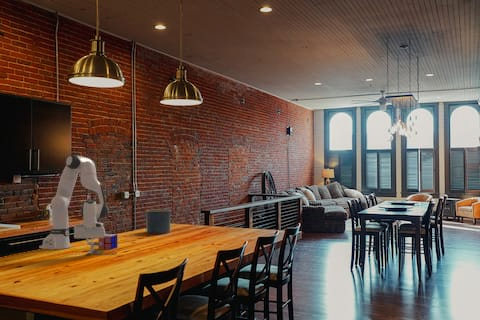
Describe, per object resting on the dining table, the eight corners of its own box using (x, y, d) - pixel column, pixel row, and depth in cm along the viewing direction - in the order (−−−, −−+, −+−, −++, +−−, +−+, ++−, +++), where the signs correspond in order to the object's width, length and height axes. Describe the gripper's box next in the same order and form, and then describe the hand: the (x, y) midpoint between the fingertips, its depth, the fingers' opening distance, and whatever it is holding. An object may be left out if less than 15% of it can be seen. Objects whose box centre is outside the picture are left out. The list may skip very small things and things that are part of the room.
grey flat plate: (85, 256, 296) (85, 256, 296) (87, 253, 308) (87, 252, 308) (116, 255, 300) (116, 254, 300) (117, 252, 312) (117, 251, 312)
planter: (147, 231, 415) (147, 209, 415) (171, 230, 417) (171, 209, 417) (144, 234, 393) (144, 211, 393) (170, 234, 395) (170, 211, 395)
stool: (101, 254, 301) (90, 253, 299) (102, 252, 308) (91, 252, 306) (102, 244, 301) (91, 243, 300) (103, 242, 308) (92, 241, 306)
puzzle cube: (111, 250, 319) (111, 236, 319) (98, 250, 321) (98, 236, 321) (117, 248, 329) (117, 234, 329) (105, 247, 331) (105, 234, 331)
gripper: (72, 225, 298) (72, 245, 297) (104, 224, 302) (104, 245, 301) (74, 223, 304) (74, 244, 304) (105, 223, 308) (105, 243, 308)
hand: (89, 244), depth 303 cm, fingers closed
